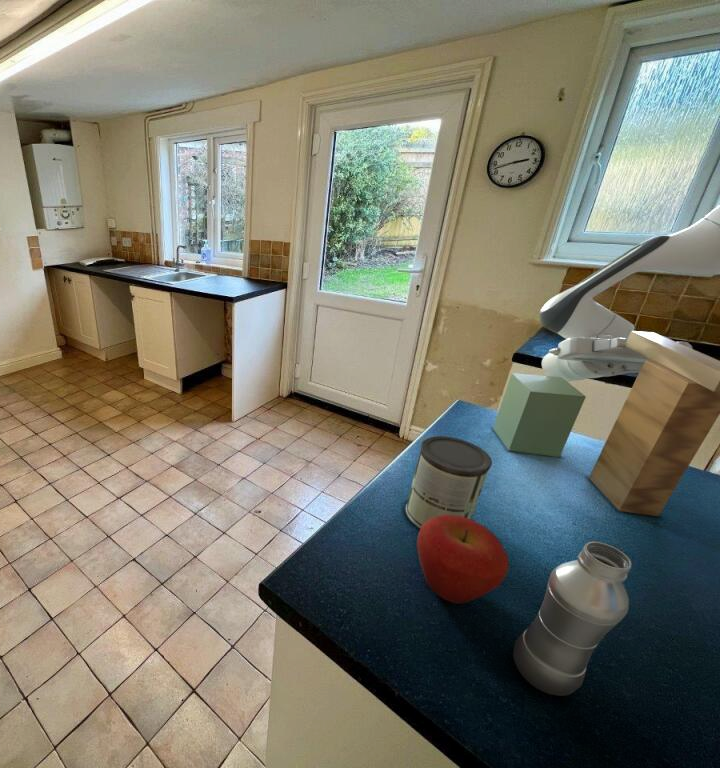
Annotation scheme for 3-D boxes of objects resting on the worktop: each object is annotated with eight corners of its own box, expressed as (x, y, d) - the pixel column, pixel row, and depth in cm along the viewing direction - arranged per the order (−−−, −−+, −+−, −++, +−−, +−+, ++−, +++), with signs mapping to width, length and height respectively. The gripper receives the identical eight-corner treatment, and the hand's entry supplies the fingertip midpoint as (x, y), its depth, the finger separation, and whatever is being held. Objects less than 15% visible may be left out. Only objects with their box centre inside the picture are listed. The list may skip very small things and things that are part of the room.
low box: (539, 433, 100) (561, 377, 94) (559, 457, 91) (586, 396, 85) (492, 428, 102) (511, 372, 96) (508, 450, 94) (530, 391, 87)
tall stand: (623, 482, 83) (686, 363, 72) (658, 516, 75) (736, 386, 64) (588, 477, 85) (645, 359, 74) (618, 511, 76) (688, 382, 65)
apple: (489, 641, 54) (519, 576, 49) (401, 602, 59) (419, 540, 54) (489, 579, 63) (514, 518, 58) (412, 550, 68) (428, 492, 63)
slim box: (646, 347, 80) (653, 332, 78) (743, 394, 61) (755, 376, 60) (624, 345, 80) (631, 330, 79) (713, 391, 62) (724, 373, 61)
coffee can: (400, 494, 80) (415, 432, 74) (459, 503, 78) (479, 439, 72) (410, 533, 71) (428, 465, 65) (476, 544, 69) (502, 475, 63)
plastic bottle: (495, 657, 52) (550, 539, 44) (534, 641, 54) (595, 525, 46) (546, 712, 47) (621, 590, 38) (588, 693, 49) (669, 572, 40)
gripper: (545, 338, 92) (587, 323, 79) (656, 345, 88) (721, 331, 74) (543, 366, 92) (585, 356, 78) (655, 375, 87) (720, 365, 74)
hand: (652, 344), depth 76 cm, fingers open, 8 cm apart
